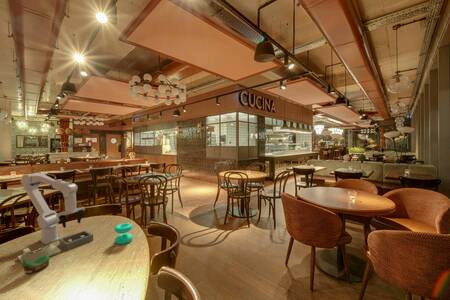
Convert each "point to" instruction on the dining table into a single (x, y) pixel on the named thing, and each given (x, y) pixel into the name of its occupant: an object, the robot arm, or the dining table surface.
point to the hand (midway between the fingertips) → (71, 224)
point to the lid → (53, 251)
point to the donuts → (123, 237)
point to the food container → (36, 260)
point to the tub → (75, 240)
